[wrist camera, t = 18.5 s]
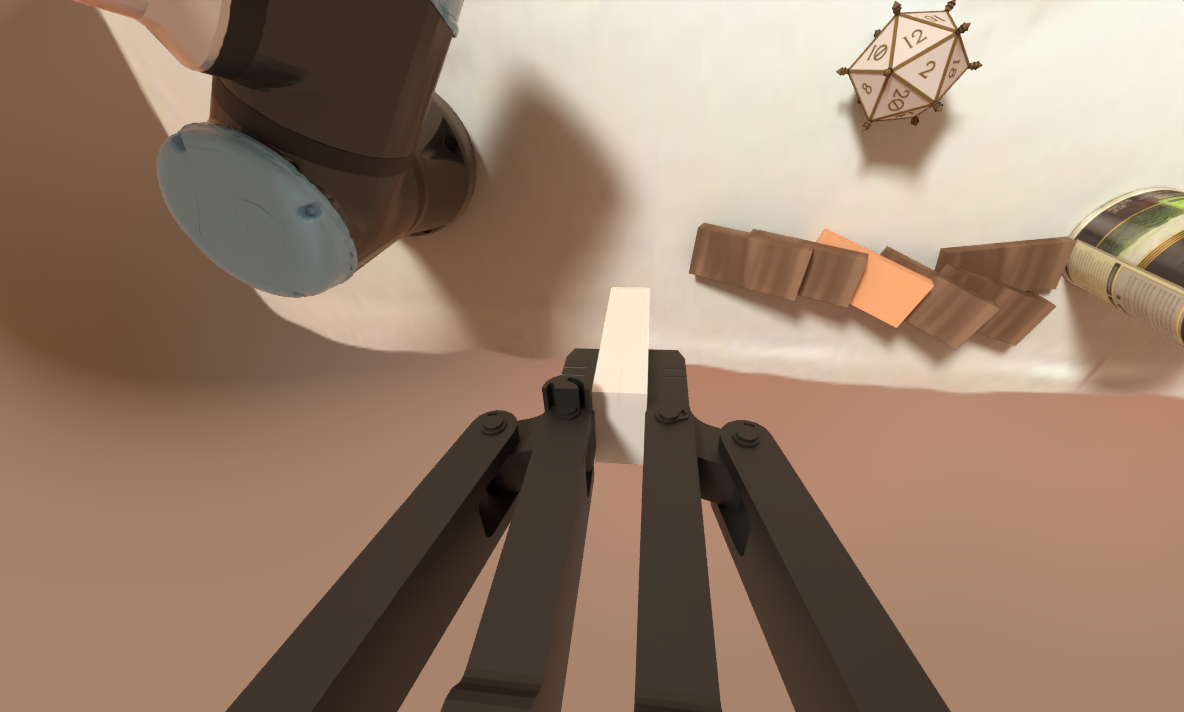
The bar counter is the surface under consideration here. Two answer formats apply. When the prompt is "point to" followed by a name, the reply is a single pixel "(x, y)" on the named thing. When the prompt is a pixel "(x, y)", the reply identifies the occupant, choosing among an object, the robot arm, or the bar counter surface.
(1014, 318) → the domino
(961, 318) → the domino
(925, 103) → the game die
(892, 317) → the domino
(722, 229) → the domino
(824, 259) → the domino
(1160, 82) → the bar counter surface
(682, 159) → the bar counter surface
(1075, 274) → the coffee can
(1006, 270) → the domino
